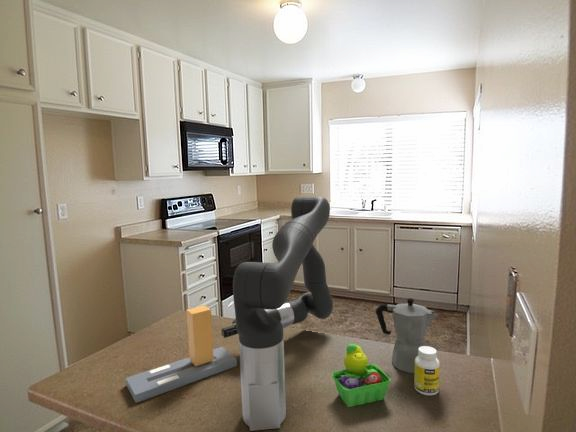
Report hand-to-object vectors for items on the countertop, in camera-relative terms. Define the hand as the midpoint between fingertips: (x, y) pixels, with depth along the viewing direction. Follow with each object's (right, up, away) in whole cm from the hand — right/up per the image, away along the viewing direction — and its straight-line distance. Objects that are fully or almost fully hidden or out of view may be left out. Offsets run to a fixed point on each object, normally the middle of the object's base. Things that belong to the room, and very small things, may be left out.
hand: (222, 333), depth 102 cm
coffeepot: (+49, -7, -3) cm, 50 cm away
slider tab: (-5, -6, -3) cm, 9 cm away
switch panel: (-9, -9, -6) cm, 14 cm away
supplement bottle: (+50, -9, -15) cm, 53 cm away
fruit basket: (+34, -9, -16) cm, 39 cm away
